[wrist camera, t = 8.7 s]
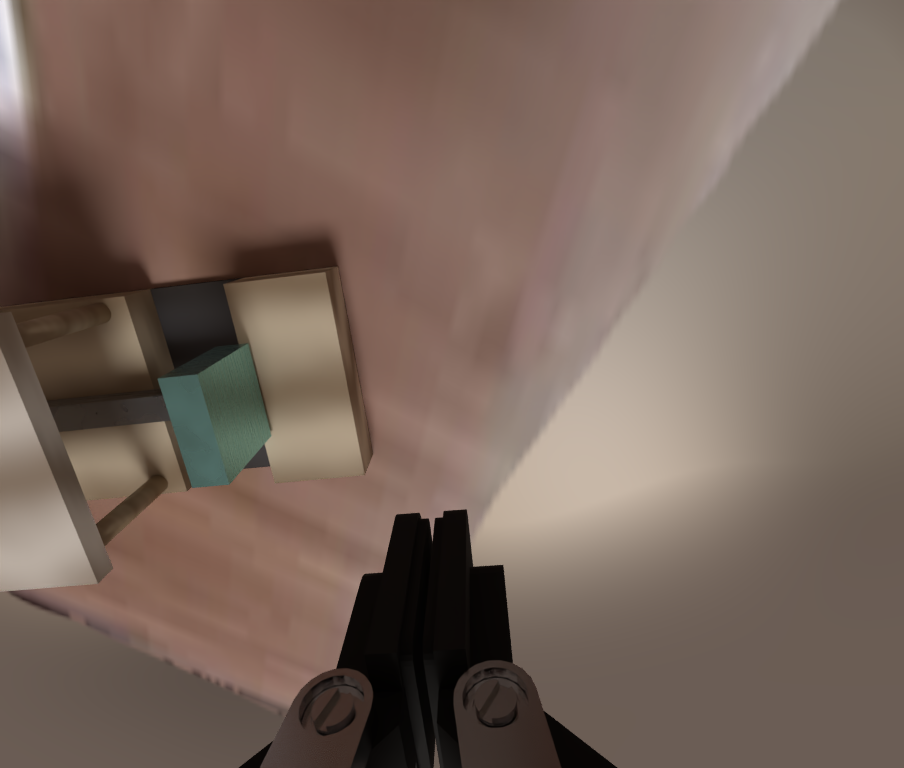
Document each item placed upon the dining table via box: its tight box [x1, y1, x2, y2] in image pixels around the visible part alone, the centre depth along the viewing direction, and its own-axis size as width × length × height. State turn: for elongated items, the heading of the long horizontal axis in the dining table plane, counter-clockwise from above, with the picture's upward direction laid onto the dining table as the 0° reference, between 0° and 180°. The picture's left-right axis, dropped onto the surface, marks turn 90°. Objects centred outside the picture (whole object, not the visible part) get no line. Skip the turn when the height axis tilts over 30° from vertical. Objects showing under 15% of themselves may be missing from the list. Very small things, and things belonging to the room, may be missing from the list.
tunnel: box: [0, 266, 373, 592], centre depth 30 cm, size 14×38×11 cm, turn 97°
